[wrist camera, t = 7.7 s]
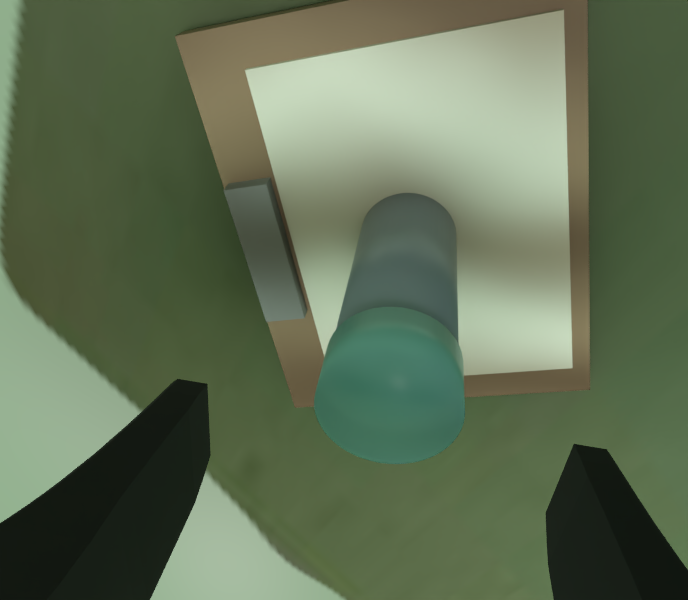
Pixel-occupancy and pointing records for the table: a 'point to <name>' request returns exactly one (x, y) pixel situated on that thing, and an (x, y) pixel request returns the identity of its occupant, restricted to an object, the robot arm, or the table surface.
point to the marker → (397, 338)
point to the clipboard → (411, 167)
